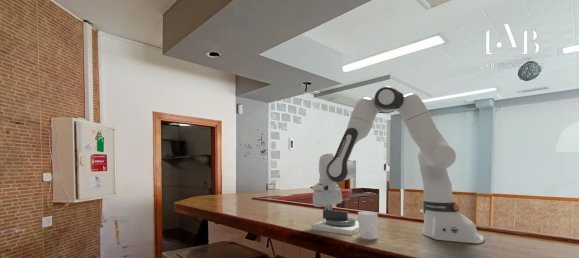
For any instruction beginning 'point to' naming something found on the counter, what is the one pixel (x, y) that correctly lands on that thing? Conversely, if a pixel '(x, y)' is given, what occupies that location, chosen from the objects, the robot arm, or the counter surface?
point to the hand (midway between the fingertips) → (328, 214)
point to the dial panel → (337, 228)
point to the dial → (337, 218)
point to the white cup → (368, 224)
